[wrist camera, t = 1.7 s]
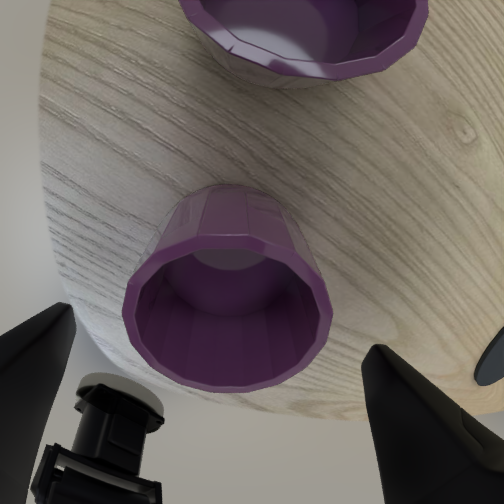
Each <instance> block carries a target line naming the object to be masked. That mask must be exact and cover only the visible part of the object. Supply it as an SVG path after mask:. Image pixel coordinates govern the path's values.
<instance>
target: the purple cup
mask: <svg viewBox="0 0 504 504" xmlns="http://www.w3.org/2000/svg"><path fill="white" fill-rule="evenodd" d="M122 317H123V320H124V324H125V327H126V330H127V334H128V337H129V340H130V343H131V344H132V346H133V347H134V348H135V349H136V350H137V352H138V353H139V354H140V355H141V356H142V357H143V359H144V360H145V361H146V362H147V363H148V364H149V366H150V367H152V368H153V369H155V370H156V371H158V372H160V373H161V374H163V375H165V376H166V377H168V378H170V379H171V380H173V381H175V382H177V383H178V384H181V385H184V386H188V387H191V388H195V389H199V390H203V391H207V392H211V393H212V392H213V393H246V392H247V393H248V392H252V391H256V390H260V389H264V388H267V387H271V386H275V385H278V384H280V383H282V382H284V381H285V380H287V379H289V378H290V377H292V376H294V375H295V374H297V373H299V372H300V371H302V370H303V369H305V368H306V367H308V365H309V364H310V363H311V362H312V360H313V359H314V358H315V357H316V356H317V354H318V353H319V352H320V350H321V349H322V348H323V347H324V345H325V344H326V342H327V338H328V334H329V330H330V326H331V322H332V317H333V309H332V305H331V301H330V298H329V295H328V291H327V288H326V284H325V281H324V279H323V277H322V275H321V272H320V270H319V268H318V266H317V264H316V261H315V259H314V257H313V255H312V253H311V251H310V249H309V246H308V244H307V242H306V240H305V238H304V236H303V234H302V232H301V230H300V228H299V225H298V224H297V222H296V221H295V220H294V219H293V217H292V216H291V214H290V213H289V212H288V211H287V209H286V208H285V207H284V206H283V205H282V204H281V203H279V202H278V201H277V200H276V199H274V198H273V197H271V196H270V195H268V194H266V193H264V192H262V191H260V190H257V189H254V188H251V187H247V186H242V185H232V184H225V185H215V186H210V187H206V188H203V189H200V190H198V191H195V192H193V193H192V194H190V195H188V196H186V197H185V198H183V199H182V200H181V201H179V202H178V203H177V204H176V205H175V206H174V207H173V208H172V209H171V210H170V212H169V213H168V214H167V215H166V217H165V219H164V220H163V221H162V222H161V223H160V225H159V226H158V228H157V230H156V231H155V233H154V235H153V237H152V238H151V240H150V242H149V244H148V245H147V247H146V249H145V251H144V253H143V254H142V256H141V258H140V260H139V262H138V264H137V265H136V267H135V269H134V271H133V273H132V275H131V277H130V278H129V280H128V283H127V288H126V292H125V297H124V302H123V307H122Z"/></svg>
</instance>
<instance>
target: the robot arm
mask: <svg viewBox="0 0 504 504" xmlns="http://www.w3.org/2000/svg"><path fill="white" fill-rule="evenodd" d="M75 334H76V322H75V317H74V312H73V308H72V306H71V305H70V304H66V303H62V302H58V303H56V304H54V305H52V306H51V307H49V308H47V309H46V310H44V311H42V312H40V313H39V314H37V315H35V316H33V317H31V318H30V319H28V320H27V321H25V322H23V323H21V324H20V325H18V326H16V327H15V328H13V329H11V330H9V331H8V332H6V333H4V334H3V335H1V336H0V504H26V498H27V494H28V490H27V489H28V488H29V484H30V479H31V475H32V471H33V467H34V463H35V459H36V456H37V452H38V449H39V445H40V442H41V439H42V435H43V432H44V429H45V425H46V422H47V420H48V417H49V414H50V410H51V408H52V405H53V402H54V400H55V397H56V394H57V391H58V389H59V386H60V383H61V381H62V378H63V375H64V372H65V368H66V365H67V361H68V358H69V354H70V351H71V347H72V344H73V341H74V337H75ZM361 371H362V378H363V385H364V393H365V401H366V408H367V413H368V418H369V423H370V427H371V432H372V436H373V441H374V446H375V450H376V456H377V461H378V467H379V471H380V477H381V483H382V489H383V495H384V501H385V504H504V440H503V439H502V438H500V437H499V436H497V435H496V434H494V433H493V432H492V431H490V430H489V429H488V428H486V427H485V426H484V425H482V424H481V423H480V422H478V421H477V420H476V419H475V418H473V417H472V416H471V415H470V414H468V413H467V412H466V411H465V410H464V409H463V408H460V406H459V405H458V404H457V403H455V402H454V401H453V400H452V399H451V398H449V397H448V396H447V395H446V394H445V393H443V392H442V391H441V390H440V389H439V388H437V387H436V386H435V385H434V384H433V383H431V382H430V381H429V380H428V379H427V378H425V377H424V376H423V375H422V374H421V373H419V372H418V371H417V370H416V369H414V368H413V367H412V366H411V365H410V364H408V363H407V362H406V361H405V360H404V359H402V358H401V357H400V356H399V355H398V354H396V353H395V352H394V351H393V350H391V349H390V348H389V347H388V346H387V345H384V344H374V345H373V346H372V347H371V348H370V350H369V352H368V353H367V355H366V357H365V358H364V360H363V362H362V365H361ZM74 408H75V409H76V410H77V411H78V412H80V413H82V414H83V415H82V418H81V421H80V424H79V427H78V430H77V433H76V437H75V440H74V443H73V446H72V450H71V451H69V450H67V449H65V448H63V447H61V445H59V444H57V443H55V444H54V446H51V445H47V444H46V447H45V450H44V453H43V456H42V459H41V462H40V464H39V467H38V469H37V472H36V474H35V476H34V479H33V482H32V484H31V488H30V490H31V492H32V493H33V495H34V497H35V503H36V504H162V487H161V483H160V482H157V481H150V480H146V479H143V478H139V474H140V467H141V461H142V455H143V449H144V443H145V438H146V433H147V432H149V431H151V430H153V429H155V428H157V427H159V426H161V425H163V424H164V422H165V418H164V417H162V416H160V415H158V414H156V413H154V412H152V411H150V410H149V409H147V408H145V407H143V406H141V405H139V404H137V403H136V402H134V401H132V400H130V399H128V398H127V397H125V396H123V395H121V394H120V393H118V392H116V391H115V390H113V389H111V388H110V387H108V386H106V385H105V384H102V383H98V384H97V385H96V386H95V387H94V388H92V389H91V390H90V391H89V392H88V393H87V394H86V395H85V396H83V397H82V398H81V399H80V400H79V401H78V402H77V403H76V404H75V407H74ZM57 465H59V466H61V467H63V468H65V469H64V471H62V470H60V469H58V468H57Z"/></svg>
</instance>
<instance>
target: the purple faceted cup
mask: <svg viewBox="0 0 504 504" xmlns="http://www.w3.org/2000/svg"><path fill="white" fill-rule="evenodd" d="M178 1H179V3H180V5H181V7H182V9H183V12H184V14H185V16H186V18H187V20H188V21H189V23H190V25H191V26H192V28H193V30H194V31H195V33H196V35H197V37H198V38H199V40H200V42H201V43H202V45H203V47H204V49H205V50H206V51H207V52H208V53H209V54H210V55H211V56H212V57H213V58H214V59H215V60H216V61H217V62H218V63H219V64H220V65H221V66H222V67H223V68H225V69H226V70H227V71H229V72H230V73H232V74H234V75H235V76H237V77H239V78H241V79H243V80H245V81H247V82H250V83H253V84H256V85H260V86H264V87H269V88H276V89H305V88H309V87H313V86H318V85H323V84H327V83H332V82H337V81H342V80H346V79H350V78H354V77H359V76H363V75H368V74H372V73H377V72H382V71H383V70H386V69H387V68H389V67H390V66H391V65H393V64H394V63H395V62H396V61H398V60H399V59H400V58H402V57H403V56H404V55H406V54H407V53H408V52H410V51H411V50H412V49H414V47H415V46H416V44H417V42H418V40H419V37H420V35H421V32H422V30H423V28H424V25H425V23H426V20H427V18H428V14H429V11H428V0H178Z"/></svg>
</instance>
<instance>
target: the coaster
mask: <svg viewBox="0 0 504 504" xmlns="http://www.w3.org/2000/svg"><path fill="white" fill-rule="evenodd" d="M474 377H475V381H476V382H477V384H478V385H480V386H487V385H490V384H493V383H495V382H497V381H498V380H500V379H502V378H503V377H504V327H503V329H502V330H501V331H500V332H499V333H498V335H497V336H496V337H495V338H494V340H493V341H492V342H491V344H490V345H489V346H488V348H487V349H486V351H485V352H484V354H483V356H482V357H481V359H480V361H479V363H478V365H477V367H476V370H475V375H474Z"/></svg>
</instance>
